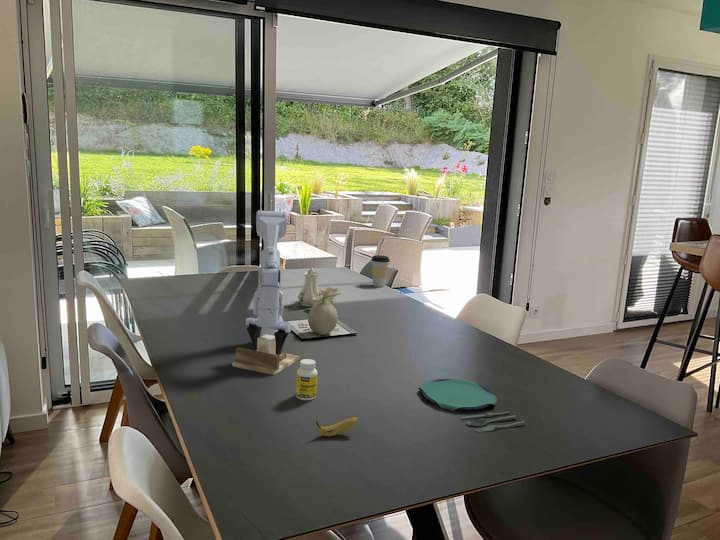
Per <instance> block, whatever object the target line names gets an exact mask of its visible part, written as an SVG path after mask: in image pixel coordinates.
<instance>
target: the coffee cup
mask: <svg viewBox="0 0 720 540" xmlns="http://www.w3.org/2000/svg"><path fill="white" fill-rule="evenodd" d="M389 262H391V261H390V259H389V256H388V255H387V256H386V255H378V254H377V255H373V256H372V257H371V264H372V265H371V273H372V275H371V276H372V286H373V287H378V288H383V287H382V286H384V287H385V283H386V279H387V273H388V267H389Z"/></svg>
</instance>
